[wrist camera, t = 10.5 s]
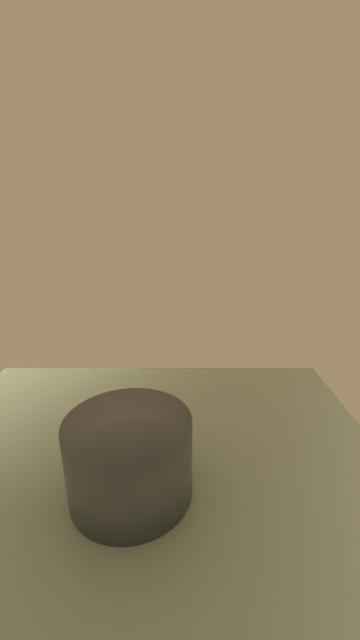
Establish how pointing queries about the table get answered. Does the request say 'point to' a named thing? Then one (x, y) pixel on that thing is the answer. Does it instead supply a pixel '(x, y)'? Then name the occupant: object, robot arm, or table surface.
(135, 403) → the cover
